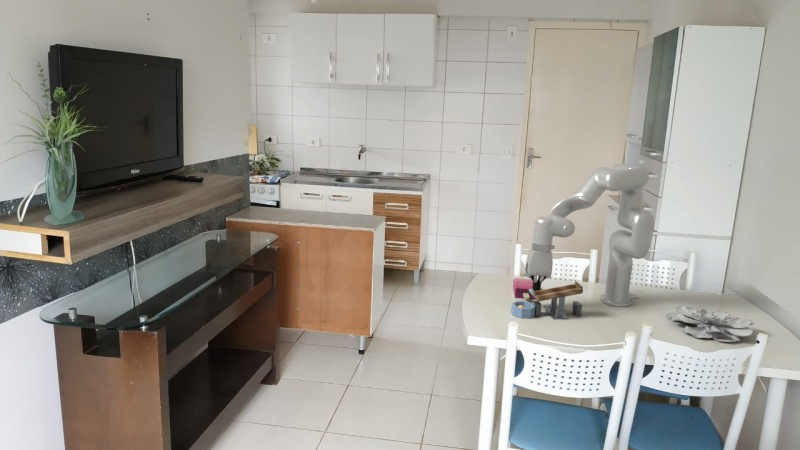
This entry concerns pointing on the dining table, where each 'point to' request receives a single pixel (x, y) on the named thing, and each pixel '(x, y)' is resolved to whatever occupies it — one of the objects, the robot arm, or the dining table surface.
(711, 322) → the decorative wall flower
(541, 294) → the lever
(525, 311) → the cup
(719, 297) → the dining table surface
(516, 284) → the popsicle
